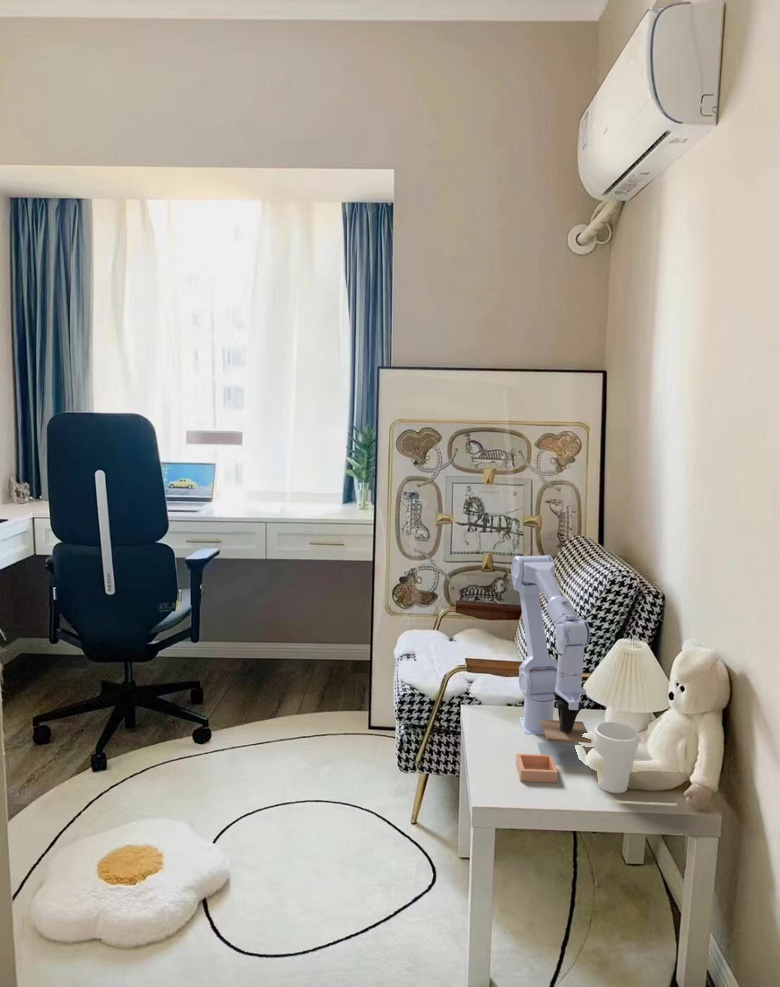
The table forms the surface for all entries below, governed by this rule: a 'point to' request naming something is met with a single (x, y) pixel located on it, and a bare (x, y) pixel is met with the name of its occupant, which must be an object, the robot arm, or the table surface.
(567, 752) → the mat
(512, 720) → the table surface
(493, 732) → the table surface
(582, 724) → the lid
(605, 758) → the foam cup
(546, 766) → the open box
